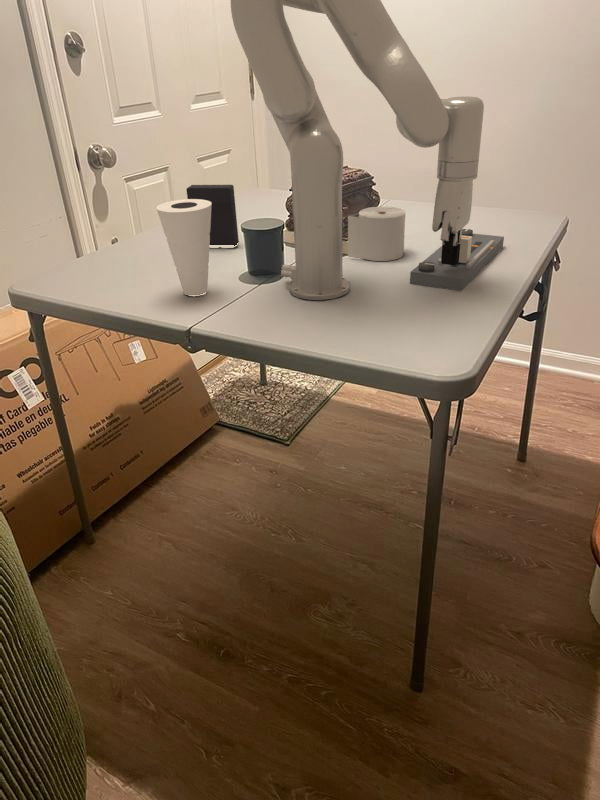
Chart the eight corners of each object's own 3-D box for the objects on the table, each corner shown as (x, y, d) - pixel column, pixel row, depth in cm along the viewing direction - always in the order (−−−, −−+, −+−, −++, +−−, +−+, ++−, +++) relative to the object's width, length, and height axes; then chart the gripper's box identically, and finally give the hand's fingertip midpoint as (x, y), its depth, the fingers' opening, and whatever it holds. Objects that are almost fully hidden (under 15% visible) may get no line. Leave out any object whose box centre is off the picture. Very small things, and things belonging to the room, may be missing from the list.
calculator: (239, 244, 159) (234, 183, 152) (235, 249, 156) (229, 187, 148) (199, 243, 161) (191, 184, 154) (193, 248, 158) (185, 187, 150)
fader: (447, 261, 132) (449, 237, 130) (451, 257, 134) (453, 234, 132) (466, 263, 131) (468, 239, 128) (469, 259, 133) (472, 236, 130)
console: (409, 283, 130) (410, 265, 128) (457, 242, 153) (459, 226, 151) (461, 290, 125) (463, 272, 123) (502, 247, 148) (504, 231, 146)
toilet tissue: (412, 253, 147) (414, 210, 142) (383, 266, 140) (384, 221, 135) (376, 245, 154) (376, 204, 149) (345, 258, 146) (345, 215, 141)
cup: (231, 291, 130) (222, 203, 121) (190, 306, 124) (177, 214, 114) (200, 280, 137) (189, 196, 127) (160, 294, 130) (145, 207, 121)
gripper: (450, 161, 125) (444, 251, 134) (424, 175, 114) (419, 272, 123) (488, 163, 122) (478, 255, 131) (464, 178, 111) (456, 277, 120)
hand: (449, 263), depth 127 cm, fingers closed
